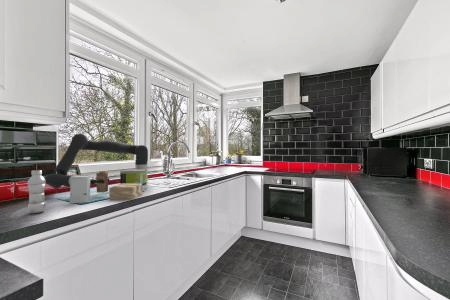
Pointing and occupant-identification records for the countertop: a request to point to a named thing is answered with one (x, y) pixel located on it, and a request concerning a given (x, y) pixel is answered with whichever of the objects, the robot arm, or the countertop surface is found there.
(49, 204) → the countertop surface
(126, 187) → the plinth
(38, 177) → the plastic bottle
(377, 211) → the countertop surface
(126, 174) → the tea box
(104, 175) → the walnut block
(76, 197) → the skincare box
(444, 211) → the countertop surface
